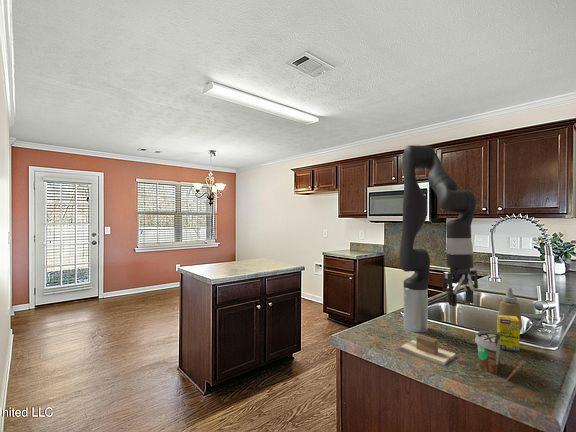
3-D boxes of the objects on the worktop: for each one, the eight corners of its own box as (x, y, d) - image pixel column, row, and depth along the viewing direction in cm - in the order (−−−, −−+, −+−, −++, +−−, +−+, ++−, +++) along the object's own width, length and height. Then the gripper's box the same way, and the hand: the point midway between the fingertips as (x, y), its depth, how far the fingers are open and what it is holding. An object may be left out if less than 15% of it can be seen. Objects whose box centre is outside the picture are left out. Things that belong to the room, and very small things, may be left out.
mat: (411, 342, 117) (411, 341, 117) (460, 358, 104) (460, 356, 104) (395, 350, 110) (395, 349, 110) (446, 369, 97) (446, 367, 97)
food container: (478, 357, 104) (478, 327, 104) (500, 362, 101) (500, 331, 100) (471, 371, 95) (471, 338, 95) (495, 378, 91) (495, 344, 91)
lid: (412, 342, 115) (412, 329, 115) (455, 356, 104) (455, 341, 104) (399, 349, 109) (399, 335, 109) (444, 365, 98) (444, 349, 98)
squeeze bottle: (495, 333, 126) (495, 288, 125) (500, 327, 131) (500, 284, 131) (520, 338, 120) (520, 291, 120) (523, 332, 126) (523, 287, 126)
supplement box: (499, 349, 110) (499, 318, 110) (496, 343, 116) (496, 313, 116) (520, 352, 108) (520, 321, 108) (516, 346, 113) (516, 316, 113)
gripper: (462, 251, 107) (464, 300, 106) (434, 252, 100) (436, 304, 99) (484, 252, 100) (486, 304, 99) (456, 253, 94) (458, 309, 93)
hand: (461, 304), depth 99 cm, fingers open, 8 cm apart
